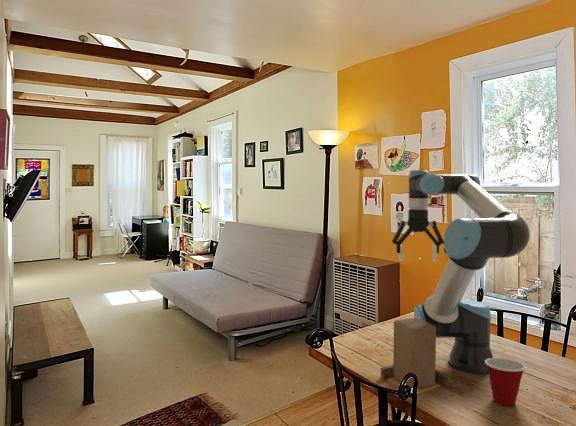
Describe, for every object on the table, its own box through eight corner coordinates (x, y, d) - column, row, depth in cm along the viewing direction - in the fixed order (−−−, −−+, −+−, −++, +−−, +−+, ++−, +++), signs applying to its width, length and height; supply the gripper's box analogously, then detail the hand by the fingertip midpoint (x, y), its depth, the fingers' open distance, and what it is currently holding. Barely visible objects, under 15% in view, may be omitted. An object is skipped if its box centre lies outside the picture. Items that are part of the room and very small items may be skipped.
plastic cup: (511, 392, 129) (512, 354, 129) (532, 410, 119) (533, 370, 118) (477, 392, 129) (478, 355, 128) (495, 411, 118) (496, 370, 117)
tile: (413, 372, 144) (413, 371, 144) (440, 386, 133) (440, 385, 133) (387, 379, 138) (387, 378, 138) (413, 395, 127) (413, 394, 127)
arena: (413, 368, 146) (413, 359, 146) (447, 386, 133) (447, 375, 133) (380, 377, 139) (380, 367, 139) (413, 397, 126) (413, 386, 126)
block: (436, 386, 132) (437, 325, 131) (410, 391, 129) (411, 329, 128) (416, 373, 142) (417, 316, 141) (392, 377, 139) (392, 319, 137)
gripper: (446, 208, 168) (445, 259, 169) (385, 208, 169) (384, 259, 170) (453, 209, 161) (452, 262, 162) (388, 209, 162) (388, 262, 163)
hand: (417, 261), depth 166 cm, fingers open, 13 cm apart
